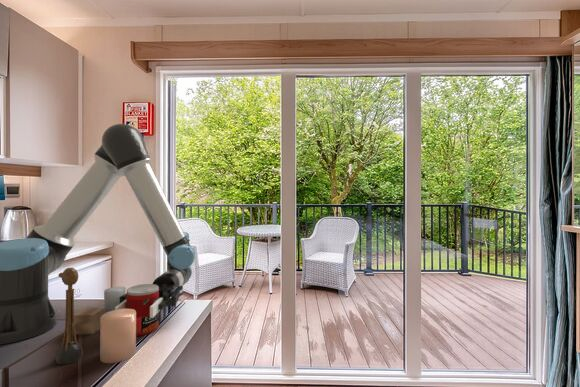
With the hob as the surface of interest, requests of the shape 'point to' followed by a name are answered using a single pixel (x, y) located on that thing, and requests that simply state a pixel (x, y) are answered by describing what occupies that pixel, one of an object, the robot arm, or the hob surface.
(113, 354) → the peach cylinder
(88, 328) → the walnut block
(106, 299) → the grey-white rounded cylinder
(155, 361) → the hob surface
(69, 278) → the wooden tabletop sculpture
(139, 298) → the canned food
